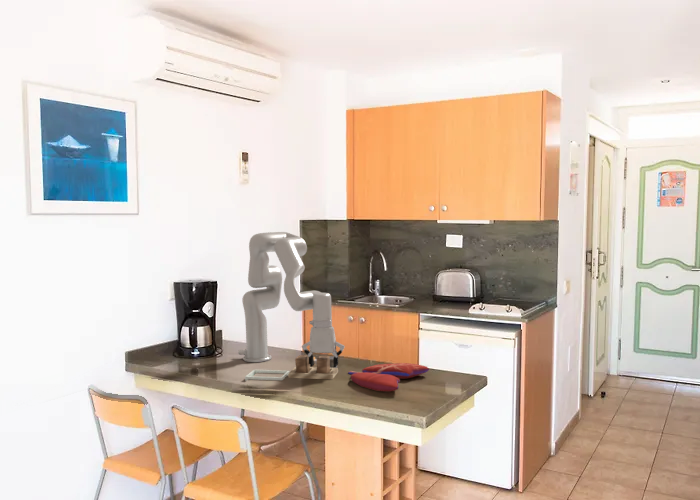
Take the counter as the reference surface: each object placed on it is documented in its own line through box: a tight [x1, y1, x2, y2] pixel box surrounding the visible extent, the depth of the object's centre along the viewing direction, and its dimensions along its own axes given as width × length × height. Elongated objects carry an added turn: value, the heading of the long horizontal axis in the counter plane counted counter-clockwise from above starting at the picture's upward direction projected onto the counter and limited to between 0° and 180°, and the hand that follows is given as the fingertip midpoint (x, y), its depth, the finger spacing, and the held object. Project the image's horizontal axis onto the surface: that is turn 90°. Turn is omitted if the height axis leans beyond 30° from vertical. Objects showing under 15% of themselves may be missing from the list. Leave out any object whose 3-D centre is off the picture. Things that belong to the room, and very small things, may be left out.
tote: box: [244, 369, 290, 382], centre depth 243 cm, size 15×10×2 cm
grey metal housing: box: [329, 355, 338, 368], centre depth 253 cm, size 6×5×6 cm
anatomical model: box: [347, 362, 430, 392], centre depth 237 cm, size 30×7×30 cm
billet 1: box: [294, 354, 310, 373], centre depth 244 cm, size 4×6×7 cm, turn 169°
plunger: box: [312, 356, 317, 367], centre depth 253 cm, size 5×4×3 cm
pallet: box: [287, 366, 339, 380], centre depth 244 cm, size 18×11×3 cm, turn 79°
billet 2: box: [316, 355, 330, 374], centre depth 242 cm, size 4×6×7 cm, turn 170°
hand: (323, 366), depth 243 cm, fingers open, 9 cm apart
